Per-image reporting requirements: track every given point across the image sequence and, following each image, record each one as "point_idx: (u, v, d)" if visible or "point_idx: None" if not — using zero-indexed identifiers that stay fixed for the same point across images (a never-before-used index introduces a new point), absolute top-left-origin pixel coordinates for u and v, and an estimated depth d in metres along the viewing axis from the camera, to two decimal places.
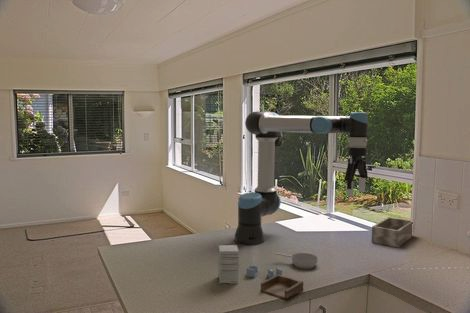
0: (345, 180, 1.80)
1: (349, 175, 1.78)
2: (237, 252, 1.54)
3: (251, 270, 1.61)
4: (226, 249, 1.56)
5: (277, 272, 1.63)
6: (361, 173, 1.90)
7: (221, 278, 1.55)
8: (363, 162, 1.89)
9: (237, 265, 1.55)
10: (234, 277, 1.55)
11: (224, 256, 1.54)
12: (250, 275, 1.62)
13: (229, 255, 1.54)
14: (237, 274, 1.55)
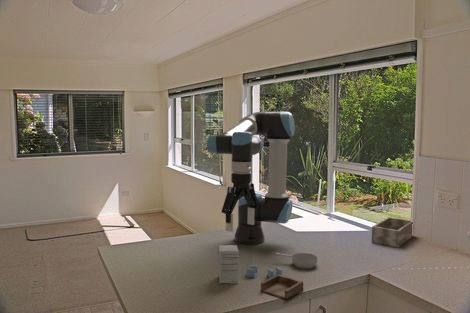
0: (223, 212, 1.53)
1: (226, 207, 1.50)
2: (237, 252, 1.54)
3: (251, 270, 1.61)
4: (226, 249, 1.56)
5: (277, 272, 1.63)
6: (249, 203, 1.62)
7: (221, 278, 1.55)
8: (251, 190, 1.62)
9: (237, 265, 1.55)
10: (234, 277, 1.55)
11: (224, 256, 1.54)
12: (250, 275, 1.62)
13: (229, 255, 1.54)
14: (237, 274, 1.55)
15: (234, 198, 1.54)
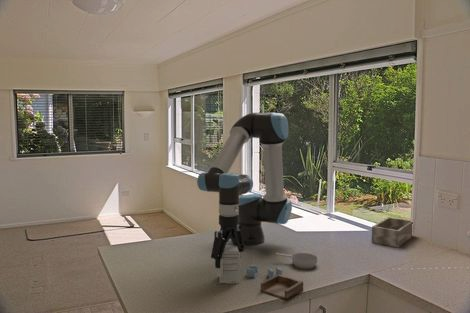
0: None
1: (215, 253, 1.51)
2: (237, 252, 1.54)
3: (251, 270, 1.61)
4: (226, 249, 1.56)
5: (277, 272, 1.63)
6: None
7: (221, 278, 1.55)
8: (239, 232, 1.61)
9: (237, 265, 1.55)
10: (234, 277, 1.55)
11: (224, 256, 1.54)
12: (250, 275, 1.62)
13: (229, 255, 1.54)
14: (237, 274, 1.55)
15: (222, 242, 1.54)
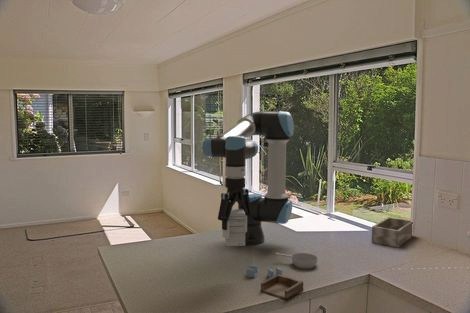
0: None
1: (222, 214, 1.51)
2: (244, 214, 1.54)
3: (251, 270, 1.61)
4: (233, 211, 1.56)
5: (277, 272, 1.63)
6: None
7: (228, 240, 1.55)
8: (245, 195, 1.61)
9: (244, 227, 1.55)
10: (241, 239, 1.55)
11: (231, 218, 1.54)
12: (250, 275, 1.62)
13: (236, 217, 1.54)
14: (244, 236, 1.55)
15: (229, 204, 1.54)
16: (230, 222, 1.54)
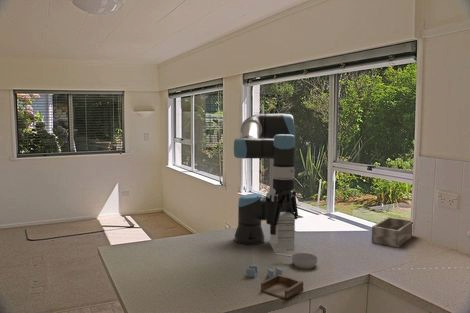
0: (268, 223, 1.44)
1: (271, 218, 1.41)
2: (293, 218, 1.44)
3: (251, 270, 1.61)
4: (281, 215, 1.46)
5: (277, 272, 1.63)
6: None
7: (276, 246, 1.45)
8: (292, 198, 1.51)
9: (293, 232, 1.45)
10: (290, 245, 1.45)
11: (279, 222, 1.44)
12: (250, 275, 1.62)
13: (285, 221, 1.44)
14: (293, 241, 1.45)
15: (277, 207, 1.44)
16: (279, 226, 1.44)
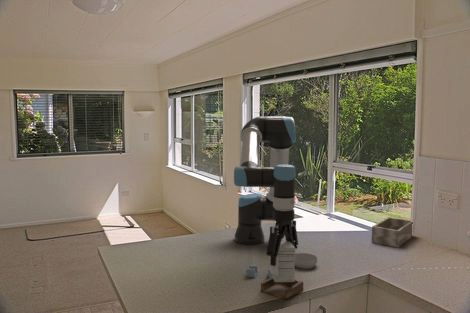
0: None
1: (271, 249, 1.41)
2: (293, 248, 1.45)
3: (251, 270, 1.61)
4: (281, 245, 1.46)
5: None
6: None
7: (276, 276, 1.45)
8: (293, 227, 1.51)
9: (293, 262, 1.45)
10: (290, 275, 1.45)
11: (280, 253, 1.44)
12: (250, 275, 1.62)
13: (285, 252, 1.44)
14: (293, 272, 1.46)
15: (278, 238, 1.44)
16: (279, 257, 1.44)
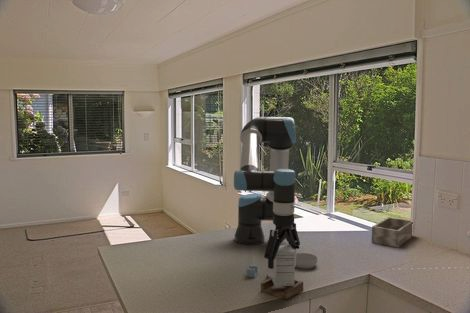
0: None
1: (269, 252, 1.40)
2: (293, 253, 1.45)
3: (251, 270, 1.61)
4: (281, 249, 1.46)
5: None
6: (291, 243, 1.53)
7: (276, 280, 1.45)
8: (293, 230, 1.52)
9: (293, 267, 1.45)
10: (290, 279, 1.46)
11: (280, 257, 1.44)
12: (250, 275, 1.62)
13: (285, 256, 1.45)
14: (293, 276, 1.46)
15: (277, 241, 1.44)
16: (279, 261, 1.45)
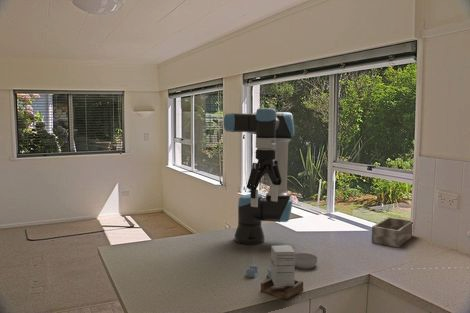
0: (248, 188, 1.54)
1: (251, 182, 1.52)
2: (293, 253, 1.45)
3: (251, 270, 1.61)
4: (281, 249, 1.46)
5: None
6: (273, 179, 1.64)
7: (276, 280, 1.45)
8: (275, 167, 1.63)
9: (293, 267, 1.45)
10: (290, 279, 1.46)
11: (280, 257, 1.44)
12: (250, 275, 1.62)
13: (285, 256, 1.45)
14: (293, 276, 1.46)
15: (259, 174, 1.55)
16: (279, 261, 1.45)
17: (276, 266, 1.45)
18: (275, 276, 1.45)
